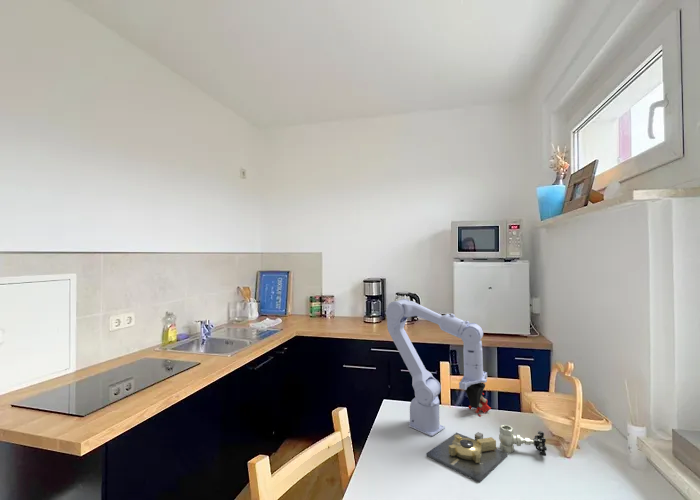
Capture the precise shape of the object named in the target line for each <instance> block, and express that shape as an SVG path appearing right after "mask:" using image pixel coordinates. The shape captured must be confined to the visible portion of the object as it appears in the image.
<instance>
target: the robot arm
mask: <svg viewBox="0 0 700 500" xmlns="http://www.w3.org/2000/svg"><path fill="white" fill-rule="evenodd" d="M384 314H385V316H386V323H387V324H386V328H387V331H388V333H389V335H390V337H391V339H392V341H393V343H394V345H395V347H396V349H397V350H398V353H399V355H400V356H401V358H402V360H403V363H404V364H405V366H406V368H407V370H408V371H409V374H410V375H411V378H412V381H411V382H412V384H411V385H412V388H413V390H414V396H415V397H414V398H412V400H411V402H410V405H409V424H408V427H410V428H412V429H414V430H416V431H418V432H421V433H423V434H425V435H427V436H430V437H433V436H435V435H436V434H438V433H439V432H441V431H443V430H445V429H446V426H444V425H442V424H440V399H439V395H440V393H441V391H442V385H441V383H440V382H439V380H438V379H436V378H435V377H434V376H433V374H432V372H430V371H429V370H427V369H426V367H425V365H424V363H423V361H422V359H421V357H420V356H419V354H418V352H417V349H416V348H415V347H414V345H413V343H412V341H411V339H410V337H409V335H408V333H407V331H406V329H405V325H406V322H407V321H408V318H410V317H411V318H412V317H419V318H421V319H423V320H426V321H428V322H431V323H433V324H437V325H438V326H439V328H440V330H441V331H443V332H444V333H447V334H449V335H452V336H454V337H456V338H458V339H461V341H462V343H463V348H462V349H463V350H462V351H463V352H462V353H463V354H462V355H463V377H462V378H461V380H460V381H459V382H458V388H459V390H464V391H465V393H466V396H467V399H468V401H469V406H471V407H472V408H475V409H477V408H478V407H479V403H480V398H481V395H483V394H482V393H484V389H485V387H486V384H485V383H487V382H488V371H487V372H486V371H484V359H483V357H484V355H483V354H484V353H483V341H482V339H483V336H484V331H483V328H482V326H480V325H479V324H478V323H476V322H470V321H469V320H463V319H462V318H458V317H457V316H456V314H454V313H450V314H449V313H446V314H443V315H442V314H440V313H438V312H435V310H432V309H430V308H428V307H426V306H423V305H421V304H419V303H417V302H415V301H412V300H409V299H407V298H401V299H399V300H395V301H391V302H389V303H388V304H387V308H386V310H385V312H384Z"/></svg>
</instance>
